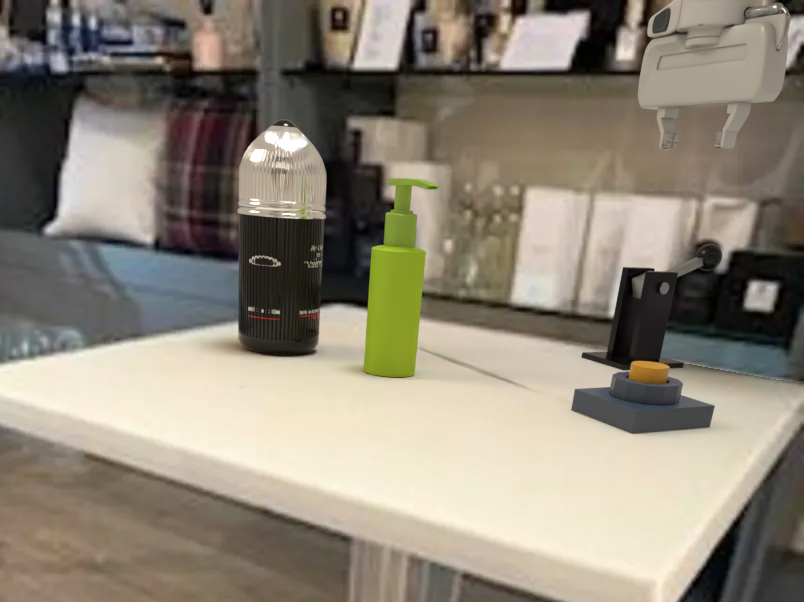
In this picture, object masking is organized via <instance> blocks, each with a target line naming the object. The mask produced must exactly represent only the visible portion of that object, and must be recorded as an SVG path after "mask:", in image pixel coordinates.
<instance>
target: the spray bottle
mask: <svg viewBox="0 0 804 602" xmlns="http://www.w3.org/2000/svg"><path fill="white" fill-rule="evenodd" d="M327 177H328V176H327V170H326V166H325V163H324V161H323V158H322V156H321V155H320V153H319V151H318V149H317V148H316V147H315V145H314V144H313V143H312V142H311V141H310V140H309V138H308V137H307V136H306V135H305V134H304V133H303V132H302V131H301V130H300V129H299V128H298V127H297V126H296V124H295V123H294V122H292V121H291V120H289V119H285V118H281V119H278V120H275V121H274V122H273V123H272V124H271V125H270V126H269V127H268V128H267V129H266V130H264V131H263V132H261V133H260V134H259V135H258V136H257V137H256V138H255V139H254V140H253V141H252V142H251V143H250V145H249V146H248V147H247V148H246V150H245V151H244V153H243V155H242V158H241V160H240V164H239V167H238V198H237V199H238V200H237V205H238V208H237V210H236V211H237V214H238V287H237V288H238V291H237V292H238V294H237V295H238V297H237V304H238V306H237V307H238V309H237V324H238V325H237V337H238V338H237V339H238V341H239V343H240V344H241V345H242V346H243V347H244V348H245V349H248V350H250V351H252V352H256V353H261V354H267V355H268V354H269V355H284V356H285V355H291V356H292V355H303V354H307V353H310V352H312V351H314V350H315V349H316V348H317V347H318V344H319V341H320V325H321V324H320V322H321V321H320V320H321V300H322V279H323V278H322V277H323V256H324V255H323V254H324V233H325V219H326V218H327V214H326V213H325V212H326V210H327V208H326V204H327V203H326V201H327V200H326V199H327Z"/></svg>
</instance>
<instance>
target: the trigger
mask: <svg viewBox="0 0 804 602" xmlns="http://www.w3.org/2000/svg"><path fill="white" fill-rule="evenodd" d="M722 260H723V251H722V249H721V247H720V246H719V245H717V244H715V243H707V244H704V245H702V246H701V247H699V249H698V250H697V251H696V254H695V257H694V258H691V259H689V260H687V261H684V262H682V263H680V264H678V265H676V266H674V267H672V268H669V269H667V270H666V271H669V272H678V276H677V278H679V277H681V276H684V275H686V274H688V273H691V272H692V271H695V270H697V269H700V270H701V271H705V272H709V271H713V270H715V269H716V268H717V267H719V266H720V265H721V263H722ZM645 273H646V272H645ZM645 273H643V274H641V275H638V276H636V277H634V278H632V289H633V297H634V298H639V299H640V298H641V293H642V288H643V283H644V278H645Z"/></svg>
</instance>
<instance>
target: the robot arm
mask: <svg viewBox="0 0 804 602" xmlns="http://www.w3.org/2000/svg"><path fill="white" fill-rule="evenodd" d="M763 3H764V0H672V1H671V2H669V4H667V5H666V6H664V7H663V8H662V9H661V10H659V11H658V12H656V13H655V14H653V15H652V16H651V17H650V18H649V20H648V24H647V30H646V34H647V37H649V38H651V40H650V42H649V43H648V44H647V46H646V48H645V50H644V54H643V58H642V62H641V68H640V74H639V80H638V88H637V101H638V104H639V106H640V108H641V109H643V110H654V111H655V110H656V111H657V113H656V121H657V122H656V123H657V125H658V129H659V133H660V138H659V144H658V148H659V149H660V150H662V151H663V150H664V151H672V150H673V151H674V150H676V149H678V147H679V141H680V136H681V135H680V133H677V132H676V125H675V120H676V119H678V116H679V111H680V109H689V108H703V107H717V106H727V109H726V114H727V115H728V118H727V120H726V122H725V123H724V125H723V128H722V130H717V131H716V133H715V141H714V143H713V145H714V148H715V149H719V150H733V149H734V148H735V146H736V141H737V137H738V132H739V131H740V130H741V128H742V127H743V125H744V124H745V122H746V121H747V119H748V117H749V116H750V113H751V107H752V104H759V103H761V104H762V103H772V102H774V101H776V99H777V98H778V96H779V95H780V93H781V92H782V91H783V87H784V82H785V78H786V69H787V62H788V51H789V30H790V26H791V19H792V17H791V14H790V12H789V9H788V8H787V7H785V6H784V4H783V3H781V2H773V3H770V4H768V5H764V4H763ZM652 38H653V39H652Z"/></svg>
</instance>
